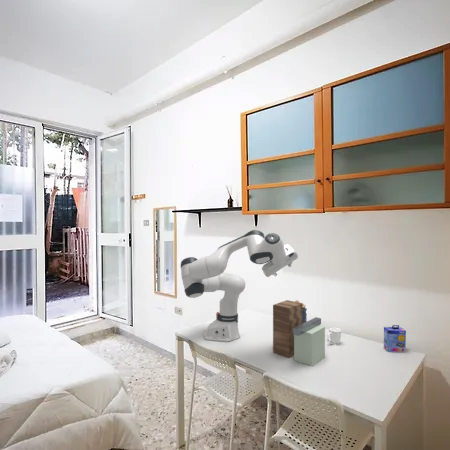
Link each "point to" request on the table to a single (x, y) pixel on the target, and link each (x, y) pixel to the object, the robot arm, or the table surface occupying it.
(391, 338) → the ink cartridge box
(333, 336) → the cup
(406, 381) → the table surface
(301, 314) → the walnut stand
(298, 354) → the sage block
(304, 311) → the canister
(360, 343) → the table surface
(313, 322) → the metal bar
